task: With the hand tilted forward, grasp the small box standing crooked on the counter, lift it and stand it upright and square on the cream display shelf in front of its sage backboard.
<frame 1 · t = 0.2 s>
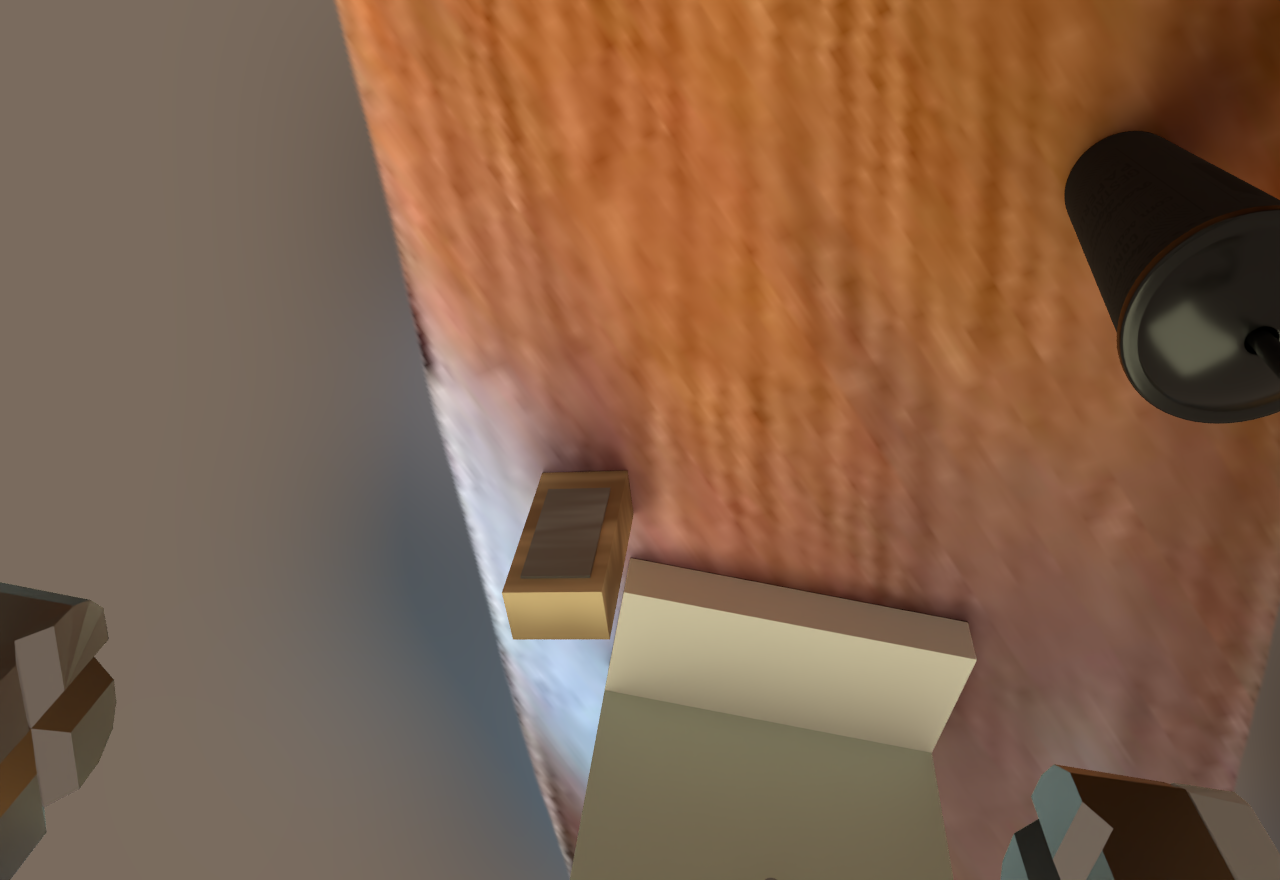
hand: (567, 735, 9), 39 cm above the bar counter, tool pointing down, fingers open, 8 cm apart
shelf: (782, 638, 60), on the bar counter
small box: (588, 493, 56), on the bar counter
drinking cup: (1120, 184, 44), on the bar counter
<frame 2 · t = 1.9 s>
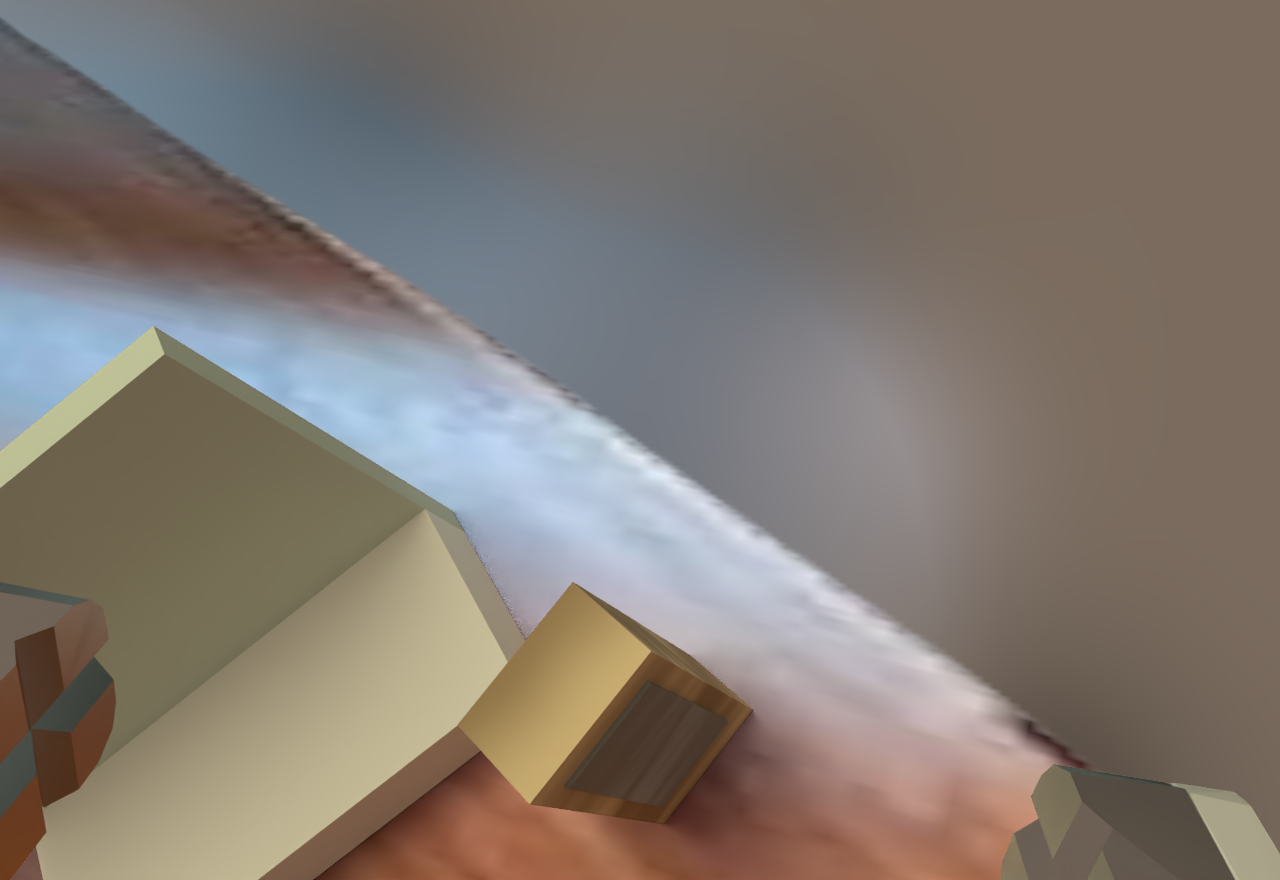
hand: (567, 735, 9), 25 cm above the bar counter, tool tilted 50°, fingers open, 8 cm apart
shelf: (308, 763, 39), on the bar counter
small box: (677, 737, 34), on the bar counter
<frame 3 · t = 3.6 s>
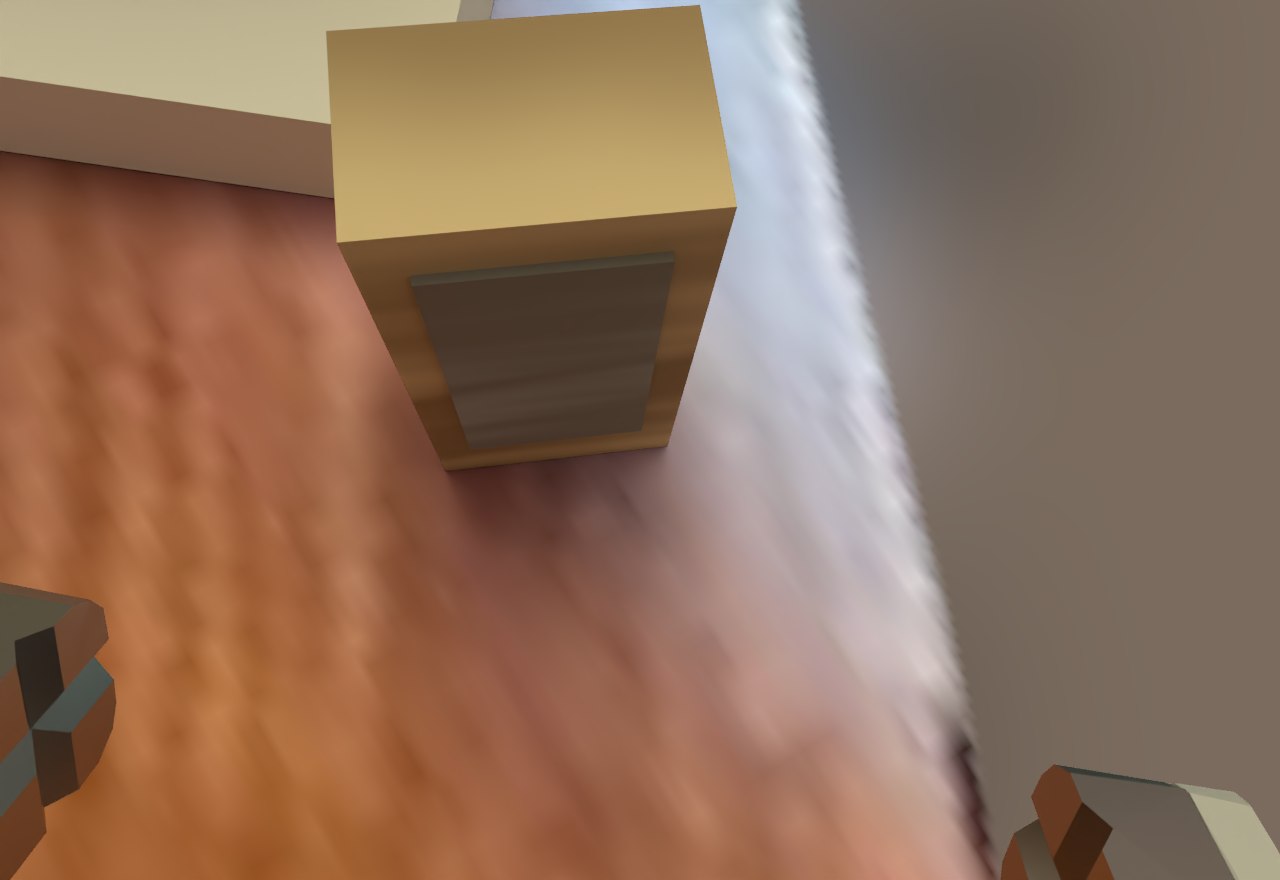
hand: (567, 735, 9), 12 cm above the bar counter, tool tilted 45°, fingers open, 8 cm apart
shelf: (69, 11, 24), on the bar counter
small box: (550, 393, 22), on the bar counter
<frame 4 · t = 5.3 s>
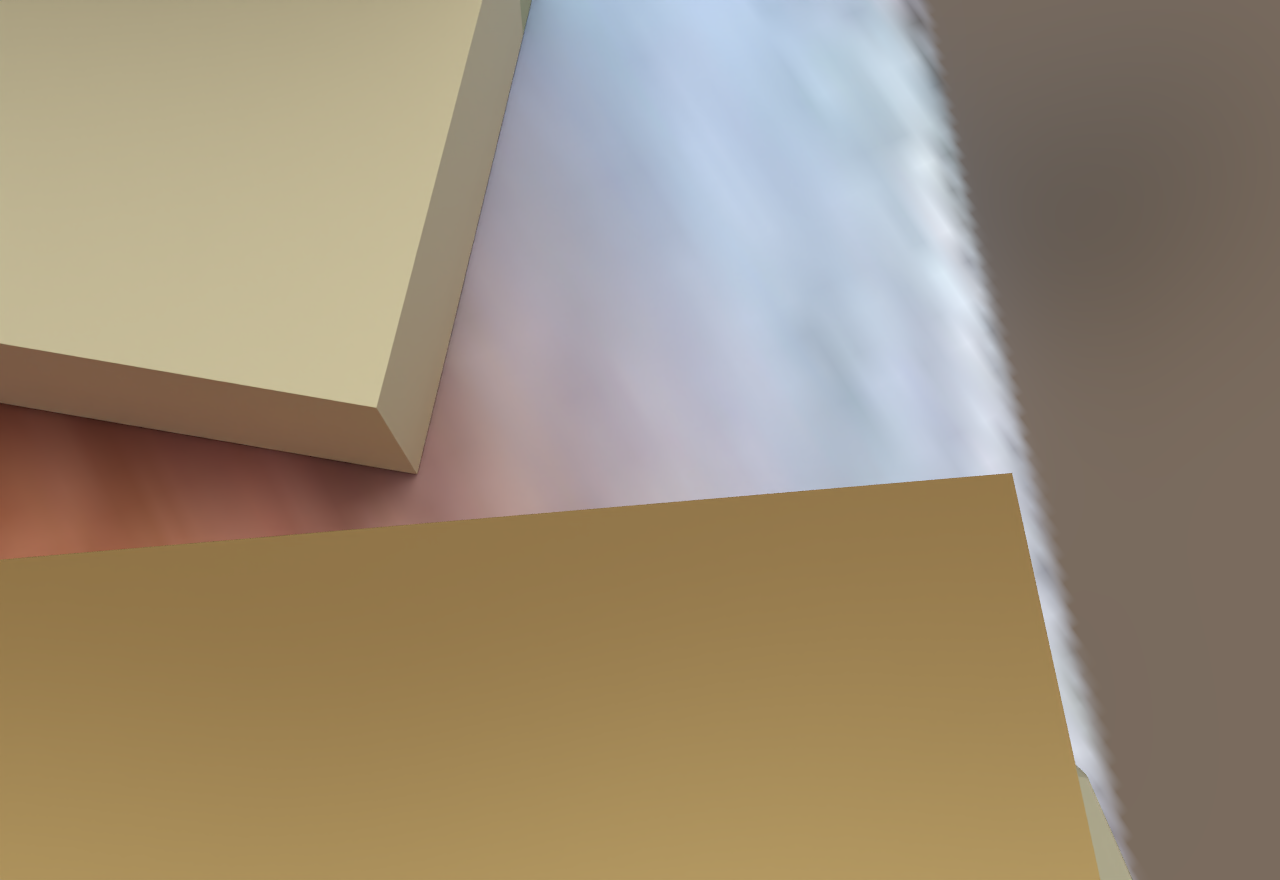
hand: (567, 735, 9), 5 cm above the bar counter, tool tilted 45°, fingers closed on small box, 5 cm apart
small box: (567, 788, 14), on the bar counter, touching gripper
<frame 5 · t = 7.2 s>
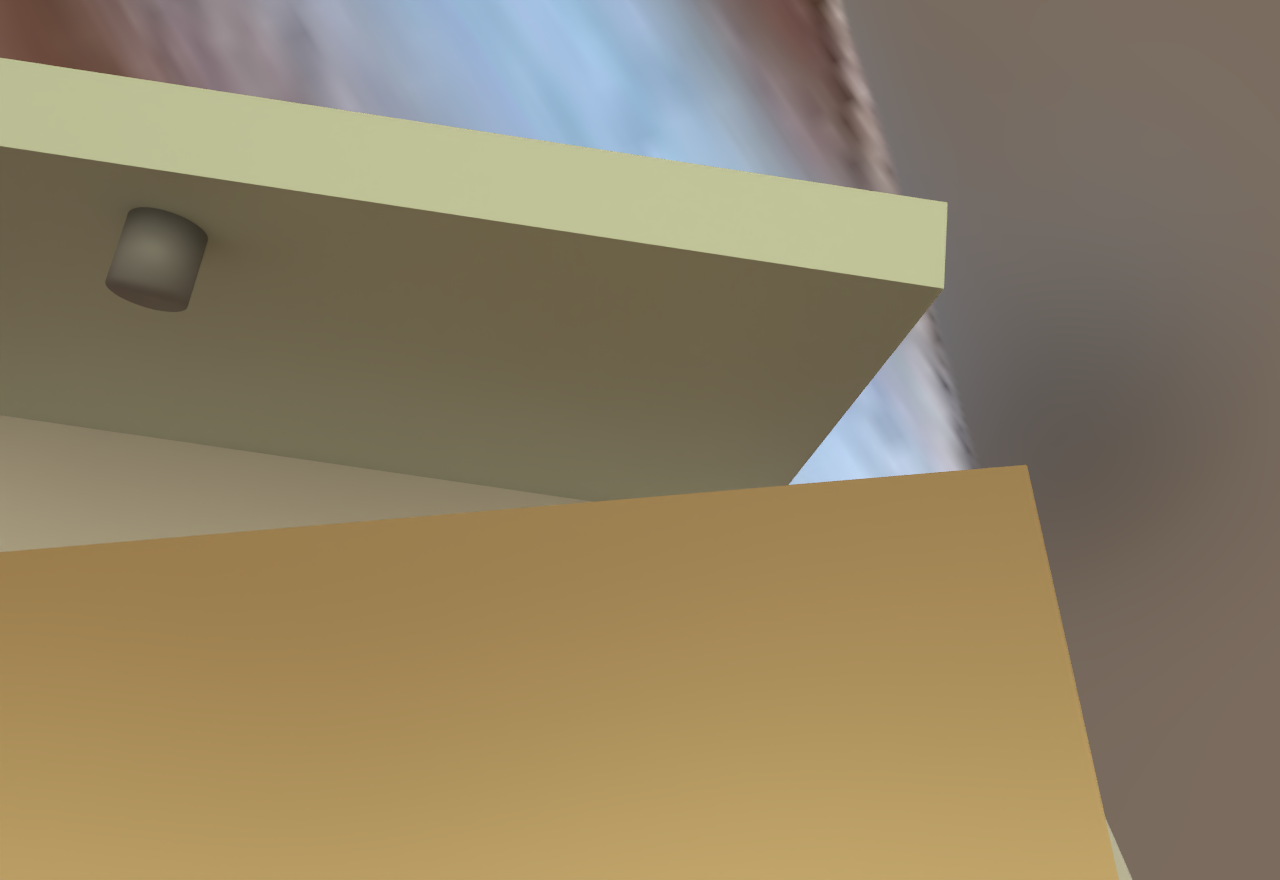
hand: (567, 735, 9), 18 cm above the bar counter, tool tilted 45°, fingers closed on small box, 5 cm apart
shelf: (341, 644, 26), on the bar counter
small box: (570, 785, 14), point 12 cm above the bar counter, touching gripper
when the fingers open (10 cm above the bar counter, at t = 9.5 s): small box drops 1 cm, resting on shelf.
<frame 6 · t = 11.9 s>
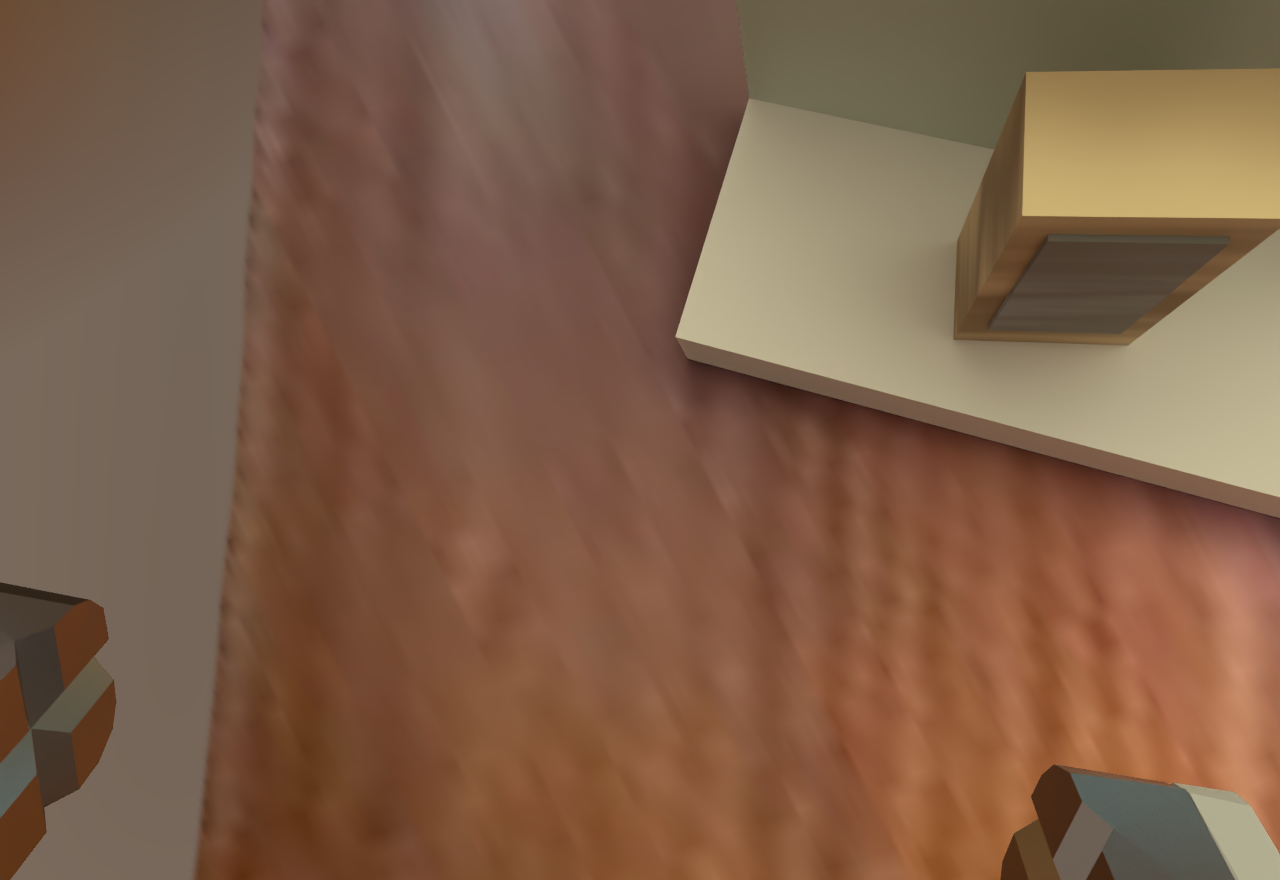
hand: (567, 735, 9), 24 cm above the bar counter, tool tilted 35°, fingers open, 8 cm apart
shelf: (1019, 320, 32), on the bar counter
small box: (1040, 292, 29), point 3 cm above the bar counter, touching shelf
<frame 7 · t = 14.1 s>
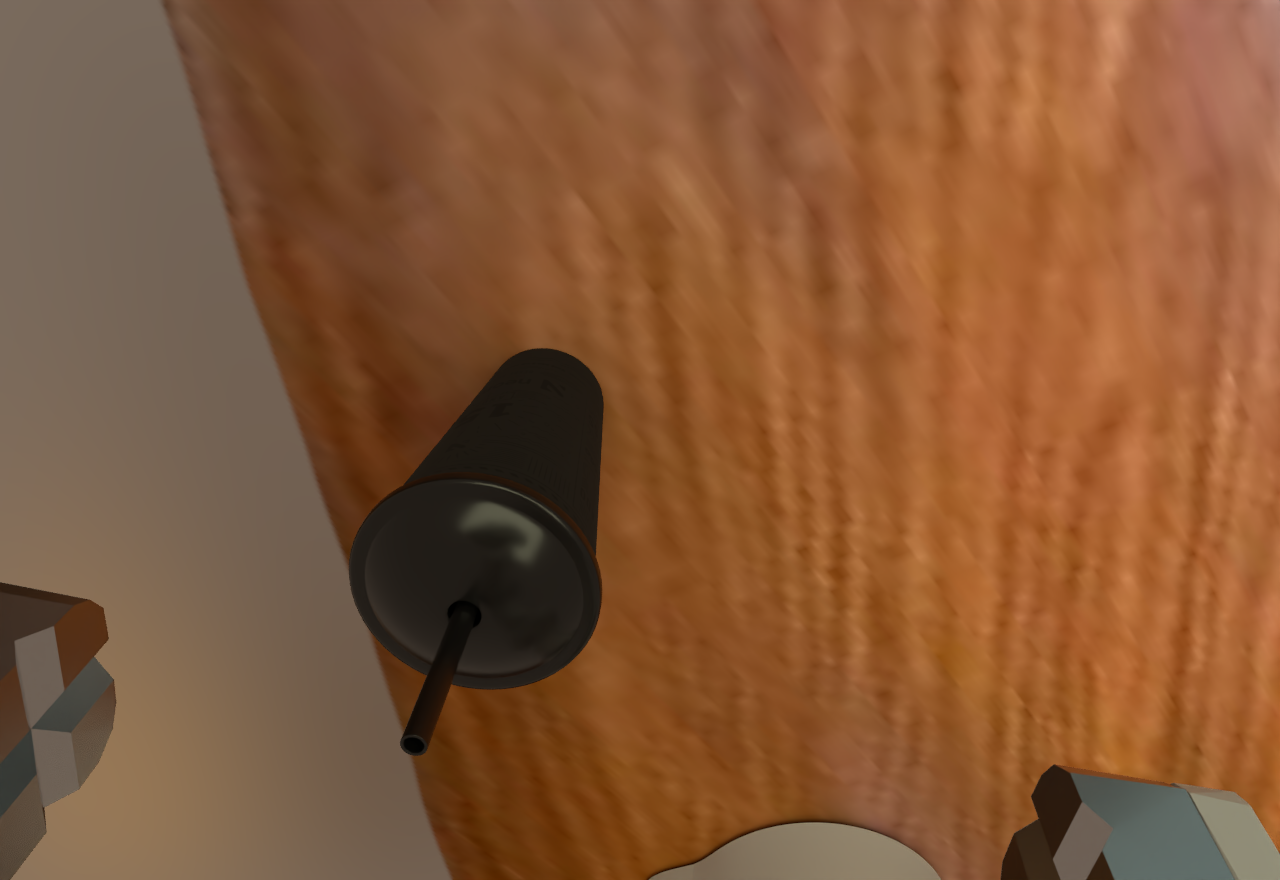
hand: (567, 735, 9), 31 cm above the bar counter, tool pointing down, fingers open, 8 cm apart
drinking cup: (548, 398, 42), on the bar counter
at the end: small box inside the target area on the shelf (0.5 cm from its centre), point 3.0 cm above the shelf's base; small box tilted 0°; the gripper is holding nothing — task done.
